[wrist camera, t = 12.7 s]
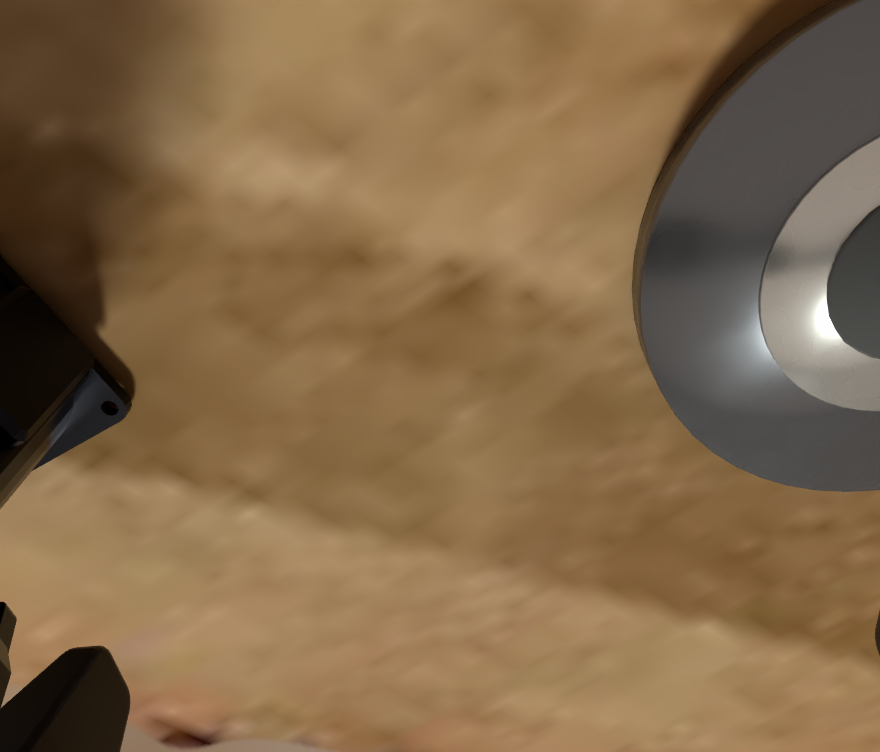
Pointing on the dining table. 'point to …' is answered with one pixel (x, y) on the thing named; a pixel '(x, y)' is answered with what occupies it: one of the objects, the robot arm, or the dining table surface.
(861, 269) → the sundae
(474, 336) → the dining table surface
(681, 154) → the plate
